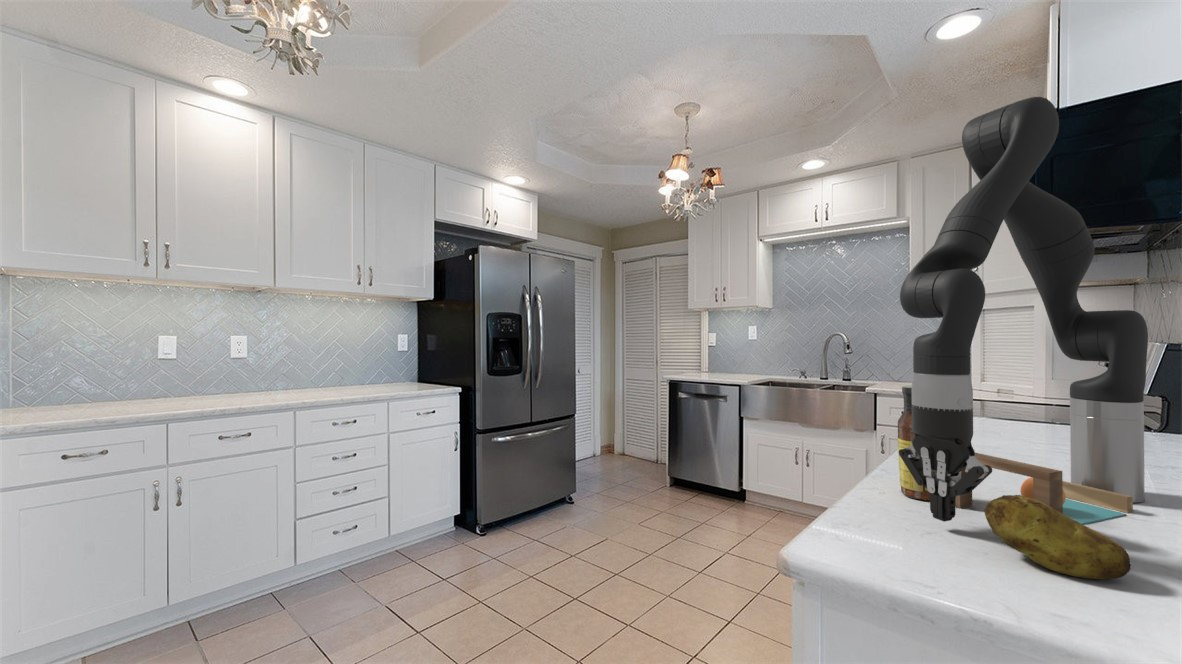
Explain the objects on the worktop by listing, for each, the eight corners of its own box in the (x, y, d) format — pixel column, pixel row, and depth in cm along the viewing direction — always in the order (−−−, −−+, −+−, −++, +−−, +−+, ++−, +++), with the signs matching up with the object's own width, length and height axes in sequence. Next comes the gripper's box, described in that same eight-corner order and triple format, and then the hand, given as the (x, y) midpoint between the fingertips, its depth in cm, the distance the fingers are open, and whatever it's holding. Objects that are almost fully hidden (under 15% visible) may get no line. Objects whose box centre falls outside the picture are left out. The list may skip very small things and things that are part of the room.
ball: (1010, 477, 83) (1014, 509, 83) (1049, 487, 78) (1054, 520, 78) (1031, 468, 85) (1035, 499, 85) (1071, 477, 80) (1075, 510, 80)
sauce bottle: (937, 493, 90) (936, 385, 91) (945, 504, 85) (944, 388, 85) (895, 488, 93) (894, 383, 93) (900, 499, 88) (899, 387, 88)
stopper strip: (1051, 491, 91) (1051, 478, 91) (1132, 511, 81) (1132, 496, 81) (1046, 492, 91) (1046, 478, 91) (1127, 513, 80) (1127, 497, 80)
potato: (1109, 599, 54) (1108, 526, 54) (975, 553, 66) (974, 493, 66) (1138, 581, 58) (1137, 513, 58) (1006, 541, 70) (1006, 484, 70)
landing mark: (1037, 492, 90) (1037, 491, 90) (1126, 515, 79) (1126, 514, 79) (993, 500, 87) (993, 499, 87) (1079, 525, 75) (1079, 523, 75)
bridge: (960, 502, 86) (959, 449, 86) (1062, 534, 72) (1062, 470, 72) (947, 504, 85) (947, 450, 85) (1049, 536, 71) (1049, 472, 71)
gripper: (1007, 408, 69) (1008, 532, 69) (917, 397, 82) (918, 502, 81) (970, 411, 67) (971, 540, 67) (883, 399, 79) (884, 507, 79)
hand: (942, 519), depth 74 cm, fingers closed
